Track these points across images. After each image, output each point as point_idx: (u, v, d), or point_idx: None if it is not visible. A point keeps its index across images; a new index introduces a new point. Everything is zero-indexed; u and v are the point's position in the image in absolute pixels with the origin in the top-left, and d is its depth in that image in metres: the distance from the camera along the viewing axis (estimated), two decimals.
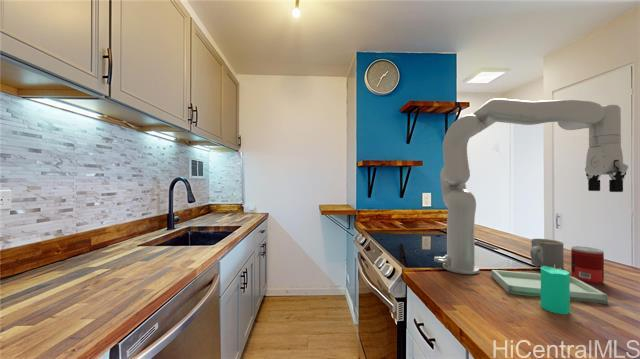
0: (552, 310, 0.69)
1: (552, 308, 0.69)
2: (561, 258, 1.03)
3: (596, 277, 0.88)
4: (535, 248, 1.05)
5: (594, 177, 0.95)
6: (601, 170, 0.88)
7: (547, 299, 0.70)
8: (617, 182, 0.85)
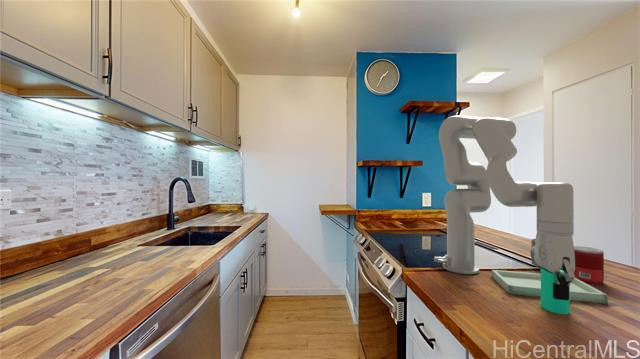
0: (552, 310, 0.69)
1: (552, 308, 0.69)
2: None
3: (596, 277, 0.88)
4: None
5: None
6: (549, 267, 0.69)
7: (547, 299, 0.70)
8: (561, 288, 0.67)
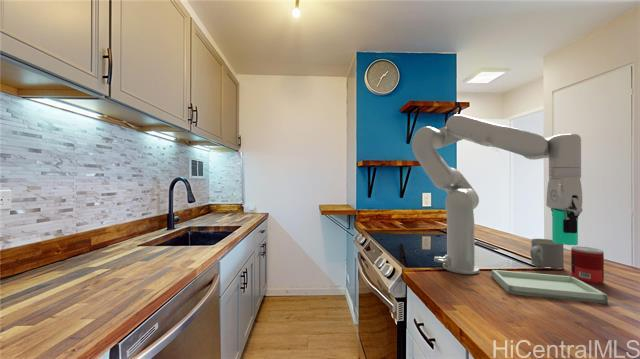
0: (563, 242, 0.81)
1: (562, 241, 0.81)
2: (561, 258, 1.03)
3: (596, 277, 0.88)
4: (535, 248, 1.05)
5: None
6: (559, 205, 0.81)
7: (558, 234, 0.82)
8: (570, 223, 0.79)
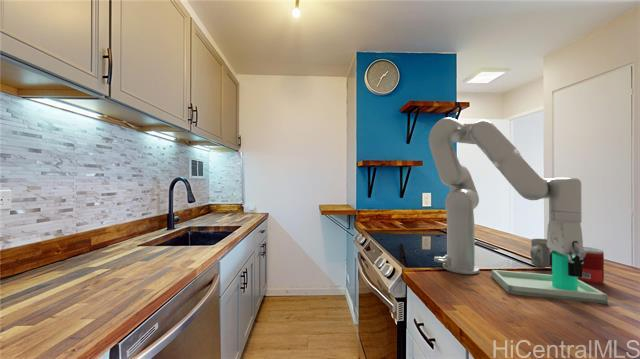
0: (562, 288, 0.81)
1: (562, 286, 0.81)
2: None
3: (596, 277, 0.88)
4: (535, 248, 1.05)
5: None
6: (560, 250, 0.80)
7: (558, 279, 0.82)
8: (575, 266, 0.77)
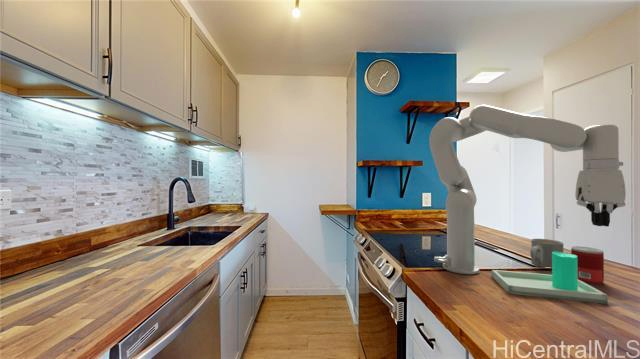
0: (562, 288, 0.81)
1: (562, 286, 0.81)
2: None
3: (596, 277, 0.88)
4: (535, 248, 1.05)
5: (604, 209, 0.80)
6: None
7: (558, 279, 0.82)
8: (592, 215, 0.81)
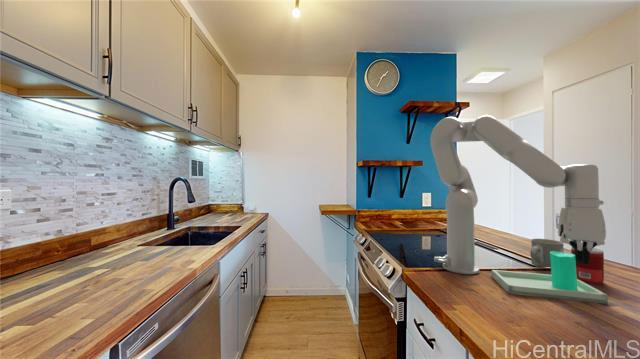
0: (562, 288, 0.81)
1: (562, 286, 0.81)
2: None
3: (596, 277, 0.88)
4: (535, 248, 1.05)
5: (584, 247, 0.81)
6: None
7: (557, 279, 0.82)
8: (575, 252, 0.82)
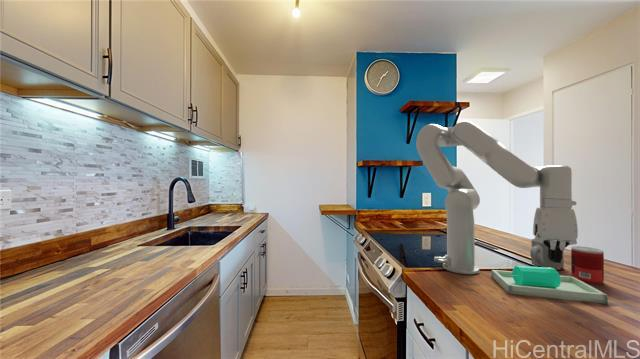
0: (557, 286, 0.81)
1: (555, 286, 0.81)
2: None
3: (596, 277, 0.88)
4: (535, 248, 1.05)
5: (557, 246, 0.83)
6: None
7: (546, 286, 0.82)
8: (548, 251, 0.84)
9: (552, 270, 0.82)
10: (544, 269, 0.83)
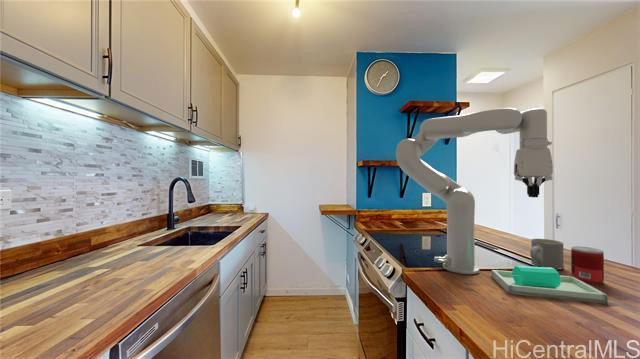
0: (557, 286, 0.81)
1: (555, 286, 0.81)
2: (561, 258, 1.03)
3: (596, 277, 0.88)
4: (535, 248, 1.05)
5: (535, 183, 0.92)
6: None
7: (546, 286, 0.82)
8: (527, 188, 0.93)
9: (552, 270, 0.82)
10: (544, 269, 0.83)
